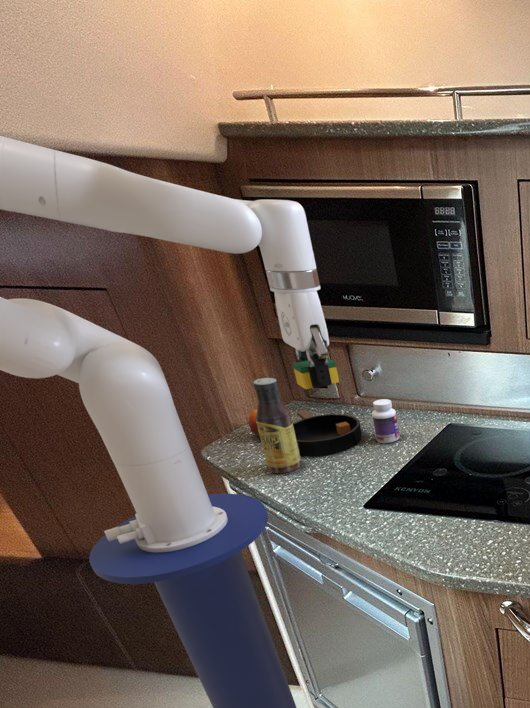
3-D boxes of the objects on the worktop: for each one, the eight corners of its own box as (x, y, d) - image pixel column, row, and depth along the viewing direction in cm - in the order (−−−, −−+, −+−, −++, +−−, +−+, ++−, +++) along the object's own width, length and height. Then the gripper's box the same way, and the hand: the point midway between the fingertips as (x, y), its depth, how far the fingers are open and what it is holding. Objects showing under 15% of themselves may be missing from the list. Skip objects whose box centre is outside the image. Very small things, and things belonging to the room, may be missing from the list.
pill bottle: (402, 440, 121) (396, 403, 117) (379, 445, 119) (372, 407, 114) (396, 432, 125) (390, 396, 121) (374, 437, 123) (367, 400, 118)
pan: (301, 463, 110) (297, 448, 108) (269, 432, 123) (265, 418, 121) (373, 442, 120) (370, 428, 118) (336, 415, 133) (334, 402, 132)
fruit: (235, 433, 118) (246, 401, 118) (269, 439, 125) (279, 409, 125) (254, 442, 115) (265, 409, 115) (288, 447, 122) (298, 416, 122)
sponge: (305, 389, 90) (300, 368, 88) (297, 384, 92) (292, 363, 91) (339, 382, 94) (335, 361, 92) (330, 377, 96) (326, 357, 95)
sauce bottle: (262, 471, 106) (235, 382, 97) (287, 459, 111) (264, 373, 102) (285, 477, 104) (260, 387, 95) (310, 464, 109) (288, 378, 100)
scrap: (341, 436, 121) (339, 427, 120) (337, 433, 122) (335, 424, 121) (351, 433, 122) (349, 424, 121) (347, 430, 124) (345, 421, 123)
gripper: (253, 276, 87) (279, 376, 95) (287, 289, 77) (313, 399, 85) (299, 273, 92) (320, 368, 100) (337, 285, 82) (357, 389, 90)
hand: (317, 381), depth 93 cm, fingers closed on sponge, 4 cm apart
